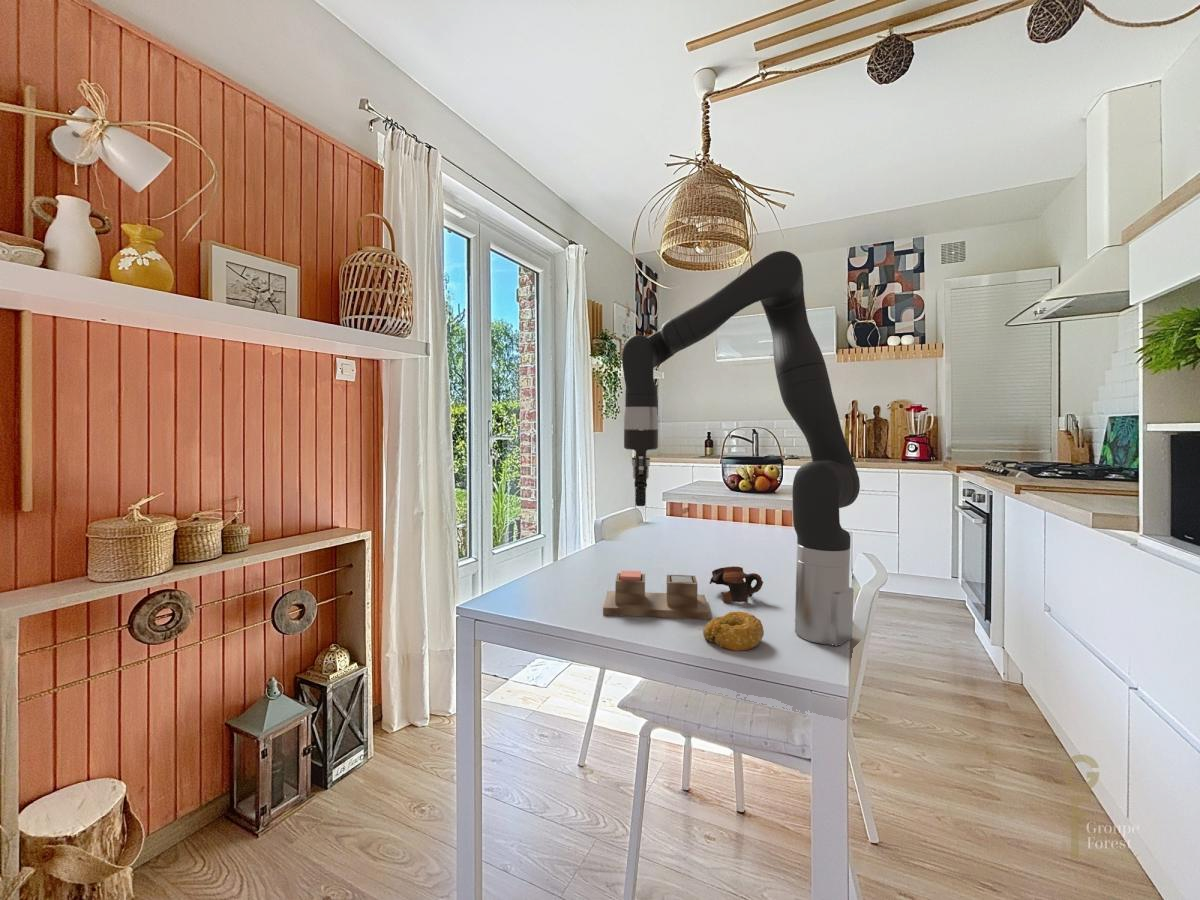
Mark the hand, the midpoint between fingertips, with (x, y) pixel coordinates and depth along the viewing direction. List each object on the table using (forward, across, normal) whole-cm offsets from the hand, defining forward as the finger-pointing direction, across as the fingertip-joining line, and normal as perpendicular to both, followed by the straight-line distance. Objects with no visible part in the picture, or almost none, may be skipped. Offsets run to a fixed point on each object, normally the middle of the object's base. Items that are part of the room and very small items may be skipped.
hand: (640, 505), depth 116 cm
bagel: (+22, +20, +17) cm, 34 cm away
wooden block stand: (+22, +4, +3) cm, 22 cm away
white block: (+20, +4, +9) cm, 22 cm away
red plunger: (+19, +3, -2) cm, 20 cm away
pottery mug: (+22, -5, +22) cm, 32 cm away
